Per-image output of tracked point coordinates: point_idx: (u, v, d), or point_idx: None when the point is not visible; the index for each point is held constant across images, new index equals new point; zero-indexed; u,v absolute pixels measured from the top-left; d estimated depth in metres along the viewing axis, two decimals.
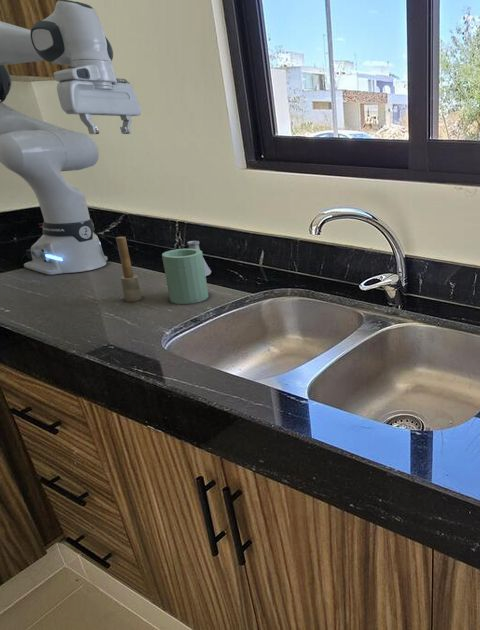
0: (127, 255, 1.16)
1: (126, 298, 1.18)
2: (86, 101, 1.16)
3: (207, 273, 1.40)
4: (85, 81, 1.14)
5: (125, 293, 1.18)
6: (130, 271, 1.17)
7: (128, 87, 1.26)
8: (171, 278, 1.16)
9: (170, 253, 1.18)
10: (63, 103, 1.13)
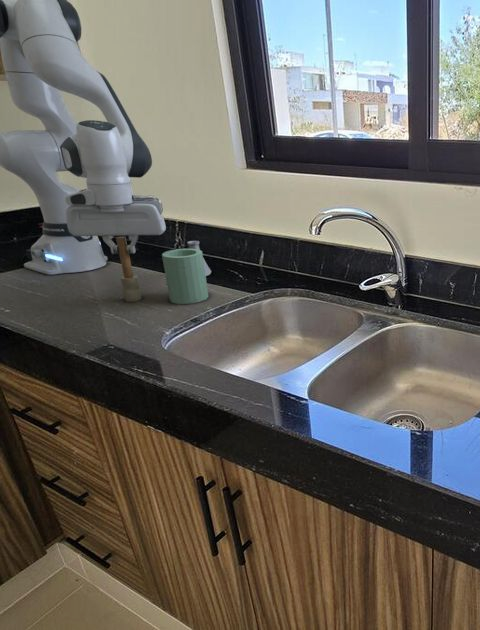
0: (127, 255, 1.16)
1: (126, 298, 1.18)
2: (86, 224, 1.10)
3: (207, 273, 1.40)
4: (83, 206, 1.08)
5: (125, 293, 1.18)
6: (130, 271, 1.17)
7: (146, 206, 1.11)
8: (171, 278, 1.16)
9: (170, 253, 1.18)
10: None
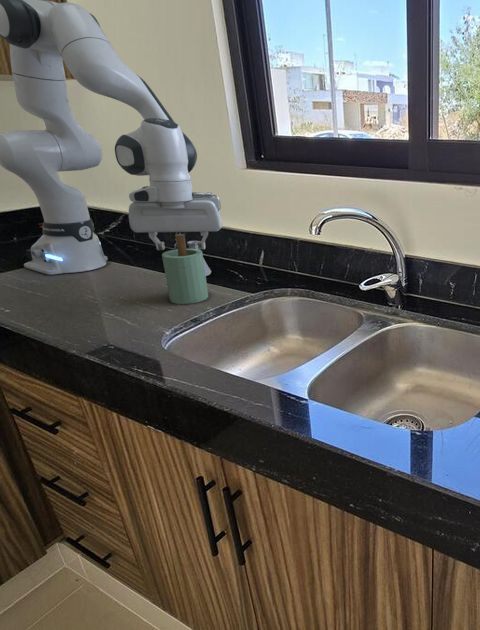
0: (185, 252, 1.18)
1: None
2: (148, 220, 1.12)
3: (207, 273, 1.40)
4: (145, 203, 1.10)
5: None
6: None
7: (206, 203, 1.13)
8: (171, 278, 1.16)
9: (170, 253, 1.18)
10: None
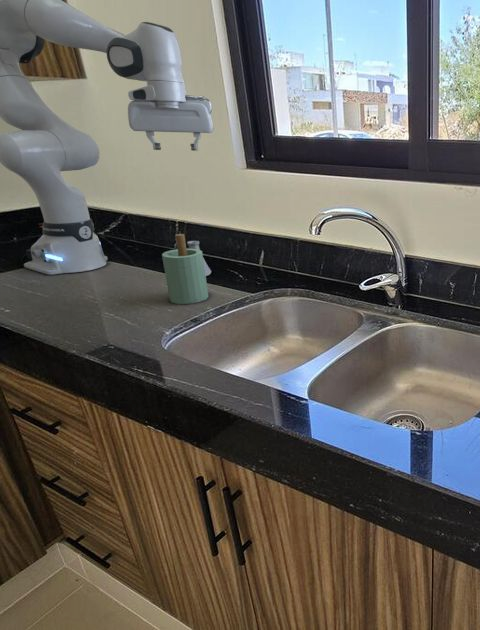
0: (185, 252, 1.18)
1: None
2: (145, 119, 1.23)
3: (207, 273, 1.40)
4: (143, 101, 1.21)
5: None
6: None
7: (198, 105, 1.25)
8: (171, 278, 1.16)
9: (170, 253, 1.18)
10: None
